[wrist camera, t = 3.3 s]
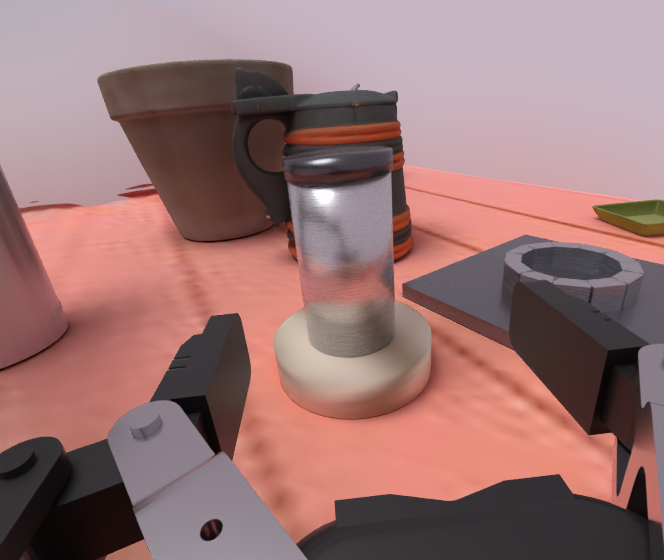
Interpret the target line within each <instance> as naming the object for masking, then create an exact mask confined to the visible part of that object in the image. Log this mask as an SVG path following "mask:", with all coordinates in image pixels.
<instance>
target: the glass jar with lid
mask: <svg viewBox="0 0 664 560" xmlns="http://www.w3.org/2000/svg"><path fill="white" fill-rule="evenodd" d="M282 164H283V171H284V178H285V180H286V181H287V186H288V194H289V201H290V208H291V215H292V223H293V230H294V237H295V245H296V252H297V259H298V266H299V274H300V281H301V288H302V296H303V303H304V310H305V317H306V325H307V332H308V339H309V342H310V344H311V345H312V346H313V347H314V348H315V349H316V350H318V351H319V352H321V353H324V354H326V355H330V356H334V357H342V358H354V357H362V356H366V355H370V354H373V353H376V352H378V351H380V350H382V349H384V348H385V347H387V346H388V345H389V344H390V343H391V342H392V340H393V339H394V337H395V298H394V261H393V224H392V186H391V171H392V170H393V151H392V148H390V147H384V146H359V147H343V148H332V149H324V150H316V151H309V152H303V153H298V154H294V155H290V156H287V157H284V158H282Z"/></svg>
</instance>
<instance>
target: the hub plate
mask: <svg viewBox="0 0 664 560" xmlns="http://www.w3.org/2000/svg"><path fill="white" fill-rule="evenodd" d="M535 280H547V281H549V282H550V283H552V284H553V285H555V286H556V287H558V288H559V289H561V290H562V291H563V292H565V293H566V294H569V295H571V296H574V297H576V298H579V299H582V300H584V301H587V302H588V303H589V304H591V305H592V306H594V307H595V308H597V309H598V310H600V313H604V314H606V315H607V316H609V317H610V318H612V321H616V322H618V323H619V324H621V325H622V326H624V327H625V328H627V329H628V330H630V331H631V332H633V333H634V334H636V335H637V336H639V337H640V338H642V339H643V340H645V341H646V342H648V343H649V344H664V265H662V264H657V263H653V262H648V261H644V260H639V259H634V258H630V257H628V256H626V255H624V254H621V253H619V252H617V251H613V250H610V249H606V248H601V247H596V246H591V245H587V244H583V245H582V244H580V243H563V242H557V241H552V240H548V239H543V238H538V237H534V236H529V235H524V236H521V237H519V238H516V239H514V240H511V241H509V242H506V243H504V244H501V245H499V246H496V247H494V248H491V249H489V250H486V251H484V252H481V253H479V254H476V255H474V256H471V257H469V258H466V259H464V260H461V261H459V262H456V263H454V264H451V265H449V266H446V267H444V268H441V269H439V270H436V271H434V272H431V273H429V274H426V275H424V276H421V277H419V278H417V279H414V280H412V281H409V282H407V283H404V284H402V287H403V297H405V298H407V299H409V300H411V301H413V302H415V303H417V304H419V305H422V306H424V307H426V308H428V309H430V310H432V311H434V312H436V313H438V314H440V315H442V316H444V317H447V318H449V319H451V320H453V321H455V322H457V323H459V324H461V325H463V326H465V327H467V328H469V329H471V330H474V331H476V332H478V333H480V334H482V335H484V336H486V337H488V338H490V339H492V340H494V341H496V342H498V343H501V344H503V345H505V346H507V347H509V348H511V349H513V350H514V348H513V347H512V344H511V341H510V337H509V324H510V315H511V305H512V295H513V289H514V286H515V284H516V283H518V282H526V281H535Z"/></svg>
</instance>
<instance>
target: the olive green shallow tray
mask: <svg viewBox="0 0 664 560" xmlns="http://www.w3.org/2000/svg"><path fill="white" fill-rule="evenodd" d="M592 208H593V209H594V211H595V212H596V214H597V215H598V216H599V217H600V218H601V219H602V220H603V221H605V222H607V223H610V224H613V225H615V226H618V227H621V228H623V229H626V230H628V231H631V232H634V233H636V234H639V235H642V236H651V235H661V234H664V200H646V201H637V202H626V203H616V204H605V205H595V206H592Z"/></svg>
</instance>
